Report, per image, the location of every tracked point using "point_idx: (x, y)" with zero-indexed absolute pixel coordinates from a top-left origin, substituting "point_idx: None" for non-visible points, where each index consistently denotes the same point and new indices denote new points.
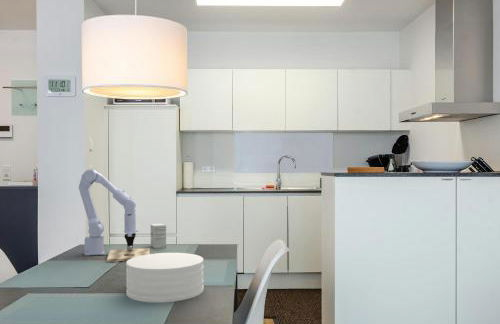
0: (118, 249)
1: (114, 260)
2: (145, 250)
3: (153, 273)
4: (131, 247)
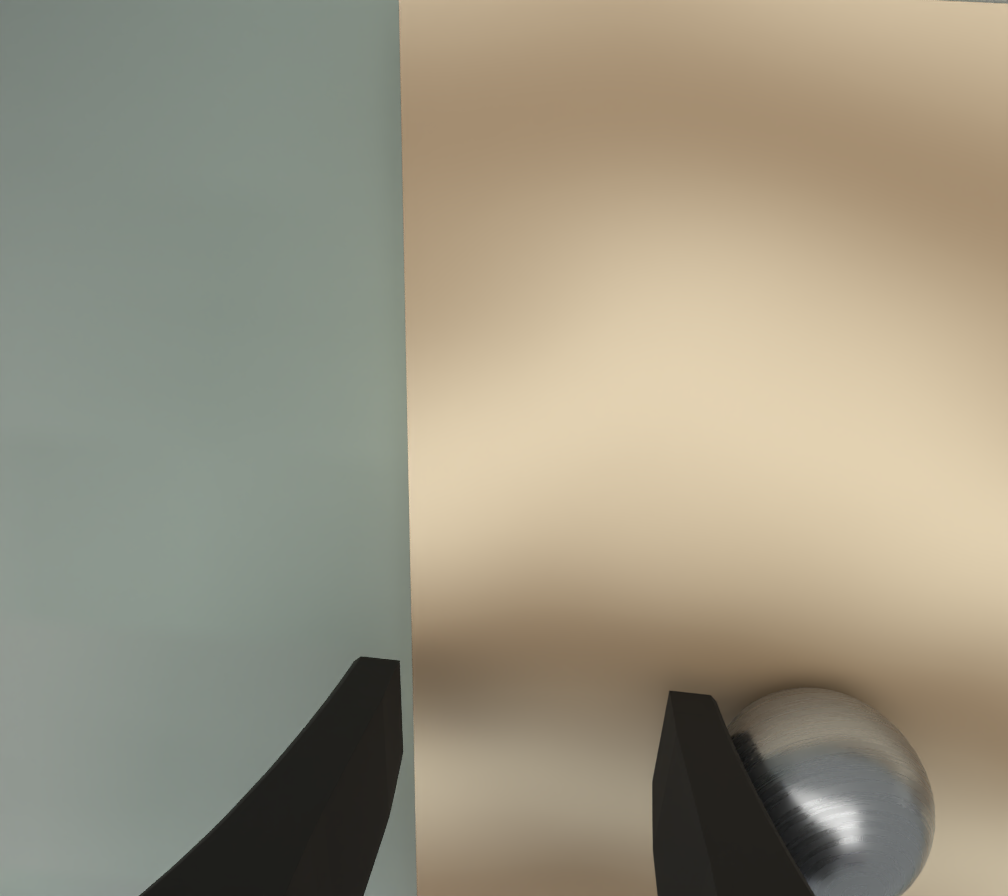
0: (420, 893)
1: None
2: (966, 216)
3: None
4: (928, 803)
